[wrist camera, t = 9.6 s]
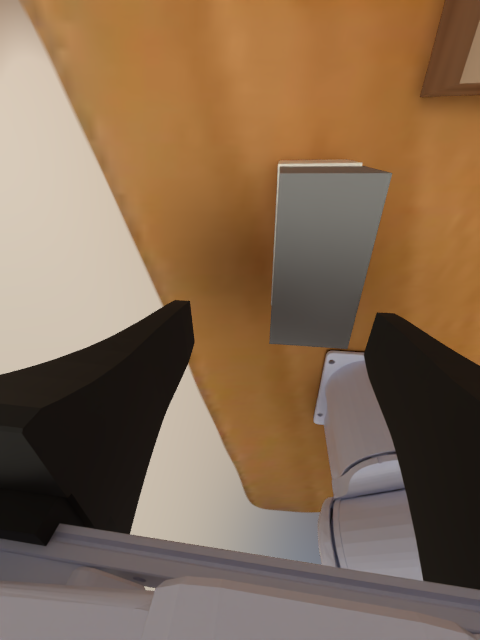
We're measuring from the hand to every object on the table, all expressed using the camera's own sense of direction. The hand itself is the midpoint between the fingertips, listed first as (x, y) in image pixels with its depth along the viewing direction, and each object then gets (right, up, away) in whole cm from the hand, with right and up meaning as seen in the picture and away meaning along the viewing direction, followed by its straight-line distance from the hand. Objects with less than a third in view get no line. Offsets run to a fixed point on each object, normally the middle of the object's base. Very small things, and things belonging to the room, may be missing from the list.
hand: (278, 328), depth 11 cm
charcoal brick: (+2, +4, +5) cm, 7 cm away
